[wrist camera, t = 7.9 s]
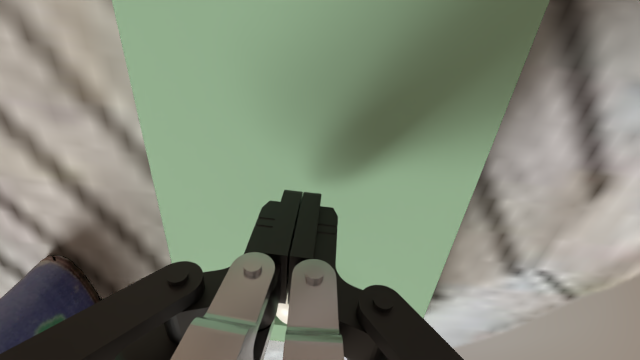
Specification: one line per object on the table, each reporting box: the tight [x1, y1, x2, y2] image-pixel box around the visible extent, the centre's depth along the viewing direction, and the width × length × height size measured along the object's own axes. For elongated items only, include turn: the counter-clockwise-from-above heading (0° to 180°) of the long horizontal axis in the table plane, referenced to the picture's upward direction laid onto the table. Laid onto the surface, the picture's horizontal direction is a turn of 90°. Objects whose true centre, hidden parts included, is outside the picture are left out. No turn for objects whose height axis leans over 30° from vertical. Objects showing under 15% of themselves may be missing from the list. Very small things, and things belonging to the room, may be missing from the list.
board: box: [112, 0, 550, 342], centre depth 17 cm, size 21×15×2 cm
